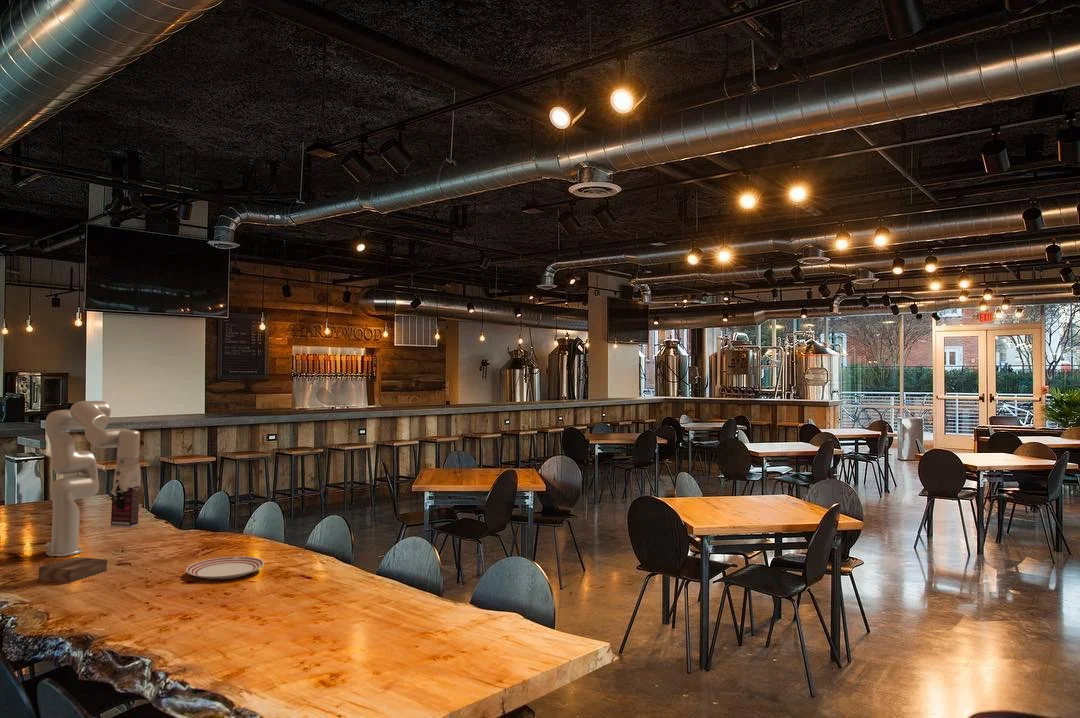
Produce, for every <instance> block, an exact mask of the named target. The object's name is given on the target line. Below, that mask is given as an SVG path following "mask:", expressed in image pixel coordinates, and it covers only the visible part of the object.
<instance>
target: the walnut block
mask: <svg viewBox="0 0 1080 718" xmlns="http://www.w3.org/2000/svg"><path fill="white" fill-rule="evenodd" d="M107 569H108V559H105V558H95V557H94V558H93V557H81V556H76V557H72V558H69V559H64V560H61V561H56V562H52V563H50V564H45V565H42V566H39V567H38V581H45V582H46V581H47V582H56V581H57V582H58V583H66V582H68V583H67V584H69V583H70V584H71V582H72V583H74V581H75V582H78V581H80V579H81V580H84V579H83V578H85V579H88V578H90V577H89V576H91V577H94V576H97V575H96V574H98V575H99V573H101V574H102V572H104V573H106V572H105V571H107V572H108V570H107ZM93 575H94V576H93ZM87 577H88V578H87ZM77 580H78V581H77Z"/></svg>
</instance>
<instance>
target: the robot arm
mask: <svg viewBox="0 0 1080 718" xmlns="http://www.w3.org/2000/svg"><path fill="white" fill-rule="evenodd" d="M111 410H112V409H111V406H110V405H109V404H108V403H107V402H106V401H103V400H81V401H76V402H75V403H73V404H72V405H71V406H70V409H59V410H54V411H51V412H50V413H49V414H47V416H46V419H45V422H44V429H45V432H46V435H47V438H48V441H49V445H50V453H51V463H52V469H53V472H54V473H55V474H57V475H64V476H65V475H74V474H76V475H77V474H80V476H67V477H61V478H58V479H56V480H54V481H52V484H51V486H50V494H51V501H52V521H51V542H48V541H47V543H46V544H44V546H43V547H44V548H45V549H48V551H46V556H47V555H48V556H47V557H54V556H57V557H66V556H67V557H69V556H73V555H74V554H75V555H78V553H79V554H81V553H82V552H83V548H82V547H79V544H80V543H79V541H80V540H79V537H80V517H81V515H80V513H81V512H80V507H79V505H78V503H76V502H75V501H76V500H81V499H88V498H93V497H95V496H96V495H97V494H98V492H99V488H100V482H99V473H98V464H97V458H96V456H95V455H94V453H93V452H91V451H89V450H76V444H75V440H74V438H73V436H72V435H71V434H70V433H69V432H68V431H69V430H71V431H72V430H73V431H75V430H84V437H85V439H86V441H87V442H89V443H90V444H91V445H92V446H94V448H98V449H112V448H117V452H116V453H117V454H116V465H115V471H114V474H113V475H114V476H113V485H112V489H111V491H110V492H111V494H113V495H114V496H115V499H116V509H124V504H125V499H123V498H124V494H125V492H127V491H129V487H133V486H140V488H141V486H142V485H141V484H142V483H141V482H142V477H141V476H142V475H141V473H142V472H141V471H142V470H141V466H140V463H139V460H140V457H139V456H140V442H141V441H140V440H141V432H140V431H139V430H135V429H129V428H124V427H121V428H107V426H108V425H109V421H110V420H109V418H110V416H111V414H112V413H111ZM120 490H122V491H120ZM120 493H121V494H120ZM68 555H69V556H68Z"/></svg>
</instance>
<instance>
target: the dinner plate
mask: <svg viewBox="0 0 1080 718" xmlns="http://www.w3.org/2000/svg"><path fill="white" fill-rule="evenodd" d="M264 565H265V561H264V560H263V559H261V558H259V557H253V556H243V555H242V556H223V557H214V558H210V559H205V560H202V561H197V562H195V563H193V564H190V565H188V567H187V568H186V569H185V573H187V574H188V575H190V576H194V577H197V578H200V579H201V578H202V579H204V578H206V579H205V580H213V579H220V580H230V579H236V578H242V577H245V576H247V575H249V574H252V573H255V572H257V571H258V570H260V569H261V568H262V567H264Z"/></svg>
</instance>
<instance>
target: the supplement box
mask: <svg viewBox="0 0 1080 718" xmlns="http://www.w3.org/2000/svg"><path fill="white" fill-rule="evenodd" d="M140 489H141V487H140V486H133V487H129V491H127V492H125V494H124V498H123V499H125V504H124V509H116V499H115V496H114V495H113V494H112V493H111V494H112V495H111V513H110V514H111V516H110V527H111V528H124V529H125V528H126V529H127V528H128V529H131V528H134V527H138V526H139V513H140V512H139V508H140V506H139V505H140ZM120 491H122V490H120ZM120 494H121V493H120Z"/></svg>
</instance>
